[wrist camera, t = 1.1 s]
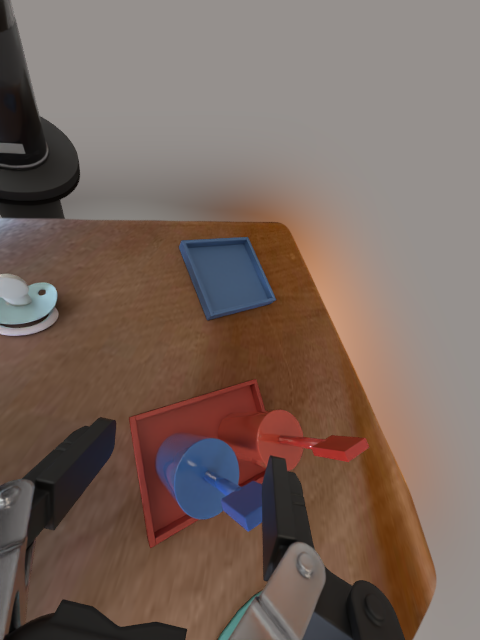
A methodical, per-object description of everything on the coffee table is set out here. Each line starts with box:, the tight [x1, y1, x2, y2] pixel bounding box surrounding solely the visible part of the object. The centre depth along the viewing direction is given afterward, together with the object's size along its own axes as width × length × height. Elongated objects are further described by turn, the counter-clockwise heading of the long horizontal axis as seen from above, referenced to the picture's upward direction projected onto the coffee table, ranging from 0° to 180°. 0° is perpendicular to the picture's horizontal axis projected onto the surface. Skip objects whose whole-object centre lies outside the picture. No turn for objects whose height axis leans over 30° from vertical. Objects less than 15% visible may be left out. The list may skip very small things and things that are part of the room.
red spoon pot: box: [218, 409, 369, 471], centre depth 25 cm, size 6×6×20 cm
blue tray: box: [179, 237, 276, 320], centre depth 43 cm, size 14×14×2 cm
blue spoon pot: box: [155, 432, 262, 531], centre depth 21 cm, size 6×6×20 cm
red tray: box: [129, 379, 266, 548], centre depth 31 cm, size 18×13×2 cm
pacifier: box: [0, 274, 58, 336], centre depth 25 cm, size 7×6×6 cm
